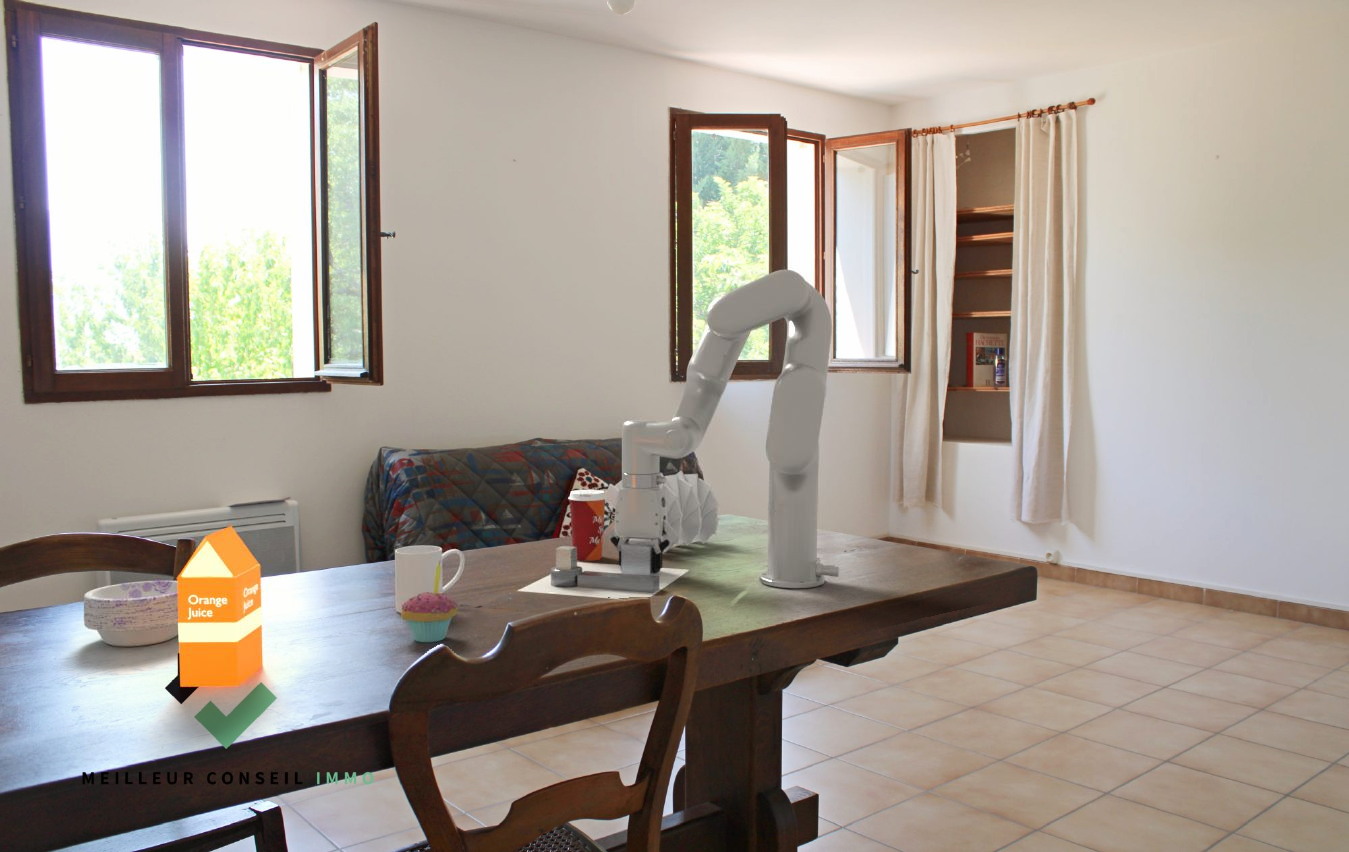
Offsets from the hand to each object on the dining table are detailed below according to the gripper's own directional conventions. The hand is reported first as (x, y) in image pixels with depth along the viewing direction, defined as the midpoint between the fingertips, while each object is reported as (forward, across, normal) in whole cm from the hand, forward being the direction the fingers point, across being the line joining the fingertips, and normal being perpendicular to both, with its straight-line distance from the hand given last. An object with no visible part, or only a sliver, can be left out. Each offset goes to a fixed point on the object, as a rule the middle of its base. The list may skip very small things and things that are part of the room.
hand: (640, 570), depth 201 cm
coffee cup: (+1, +16, -11) cm, 19 cm away
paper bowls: (+1, +58, +67) cm, 89 cm away
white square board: (+1, +4, +8) cm, 9 cm away
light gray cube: (+1, 0, 0) cm, 1 cm away
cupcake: (+1, +16, +53) cm, 55 cm away
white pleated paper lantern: (+1, +4, -29) cm, 29 cm away
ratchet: (+1, +3, +14) cm, 14 cm away
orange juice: (+1, +33, +78) cm, 85 cm away
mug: (+1, +26, +36) cm, 44 cm away
